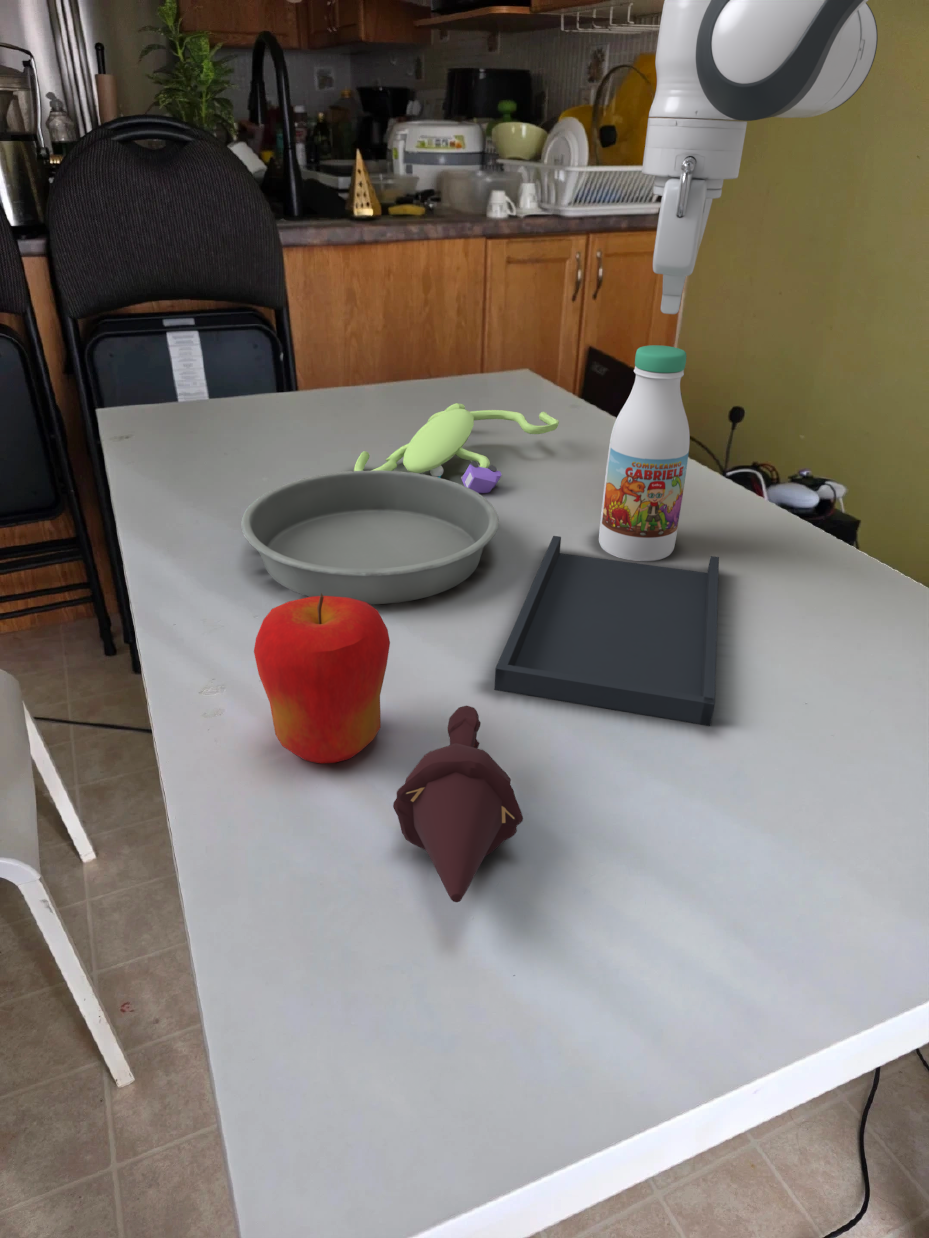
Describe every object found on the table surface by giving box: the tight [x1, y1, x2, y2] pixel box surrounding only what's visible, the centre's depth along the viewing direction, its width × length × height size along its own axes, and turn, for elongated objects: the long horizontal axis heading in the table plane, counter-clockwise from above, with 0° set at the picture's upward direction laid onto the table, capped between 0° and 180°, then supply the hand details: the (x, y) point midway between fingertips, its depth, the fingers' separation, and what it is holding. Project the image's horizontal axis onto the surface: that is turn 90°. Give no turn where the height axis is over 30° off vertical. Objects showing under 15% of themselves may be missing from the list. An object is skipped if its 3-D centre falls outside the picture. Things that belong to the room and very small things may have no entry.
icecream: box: [392, 705, 524, 903], centre depth 51 cm, size 7×7×15 cm
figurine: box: [353, 402, 560, 494], centre depth 110 cm, size 18×27×6 cm
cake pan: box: [240, 469, 500, 605], centre depth 86 cm, size 25×25×4 cm
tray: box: [494, 535, 720, 727], centre depth 76 cm, size 26×16×2 cm, turn 165°
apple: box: [253, 593, 391, 765], centre depth 58 cm, size 9×8×12 cm
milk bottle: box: [598, 344, 691, 562], centre depth 86 cm, size 8×8×20 cm
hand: (669, 311), depth 88 cm, fingers closed
